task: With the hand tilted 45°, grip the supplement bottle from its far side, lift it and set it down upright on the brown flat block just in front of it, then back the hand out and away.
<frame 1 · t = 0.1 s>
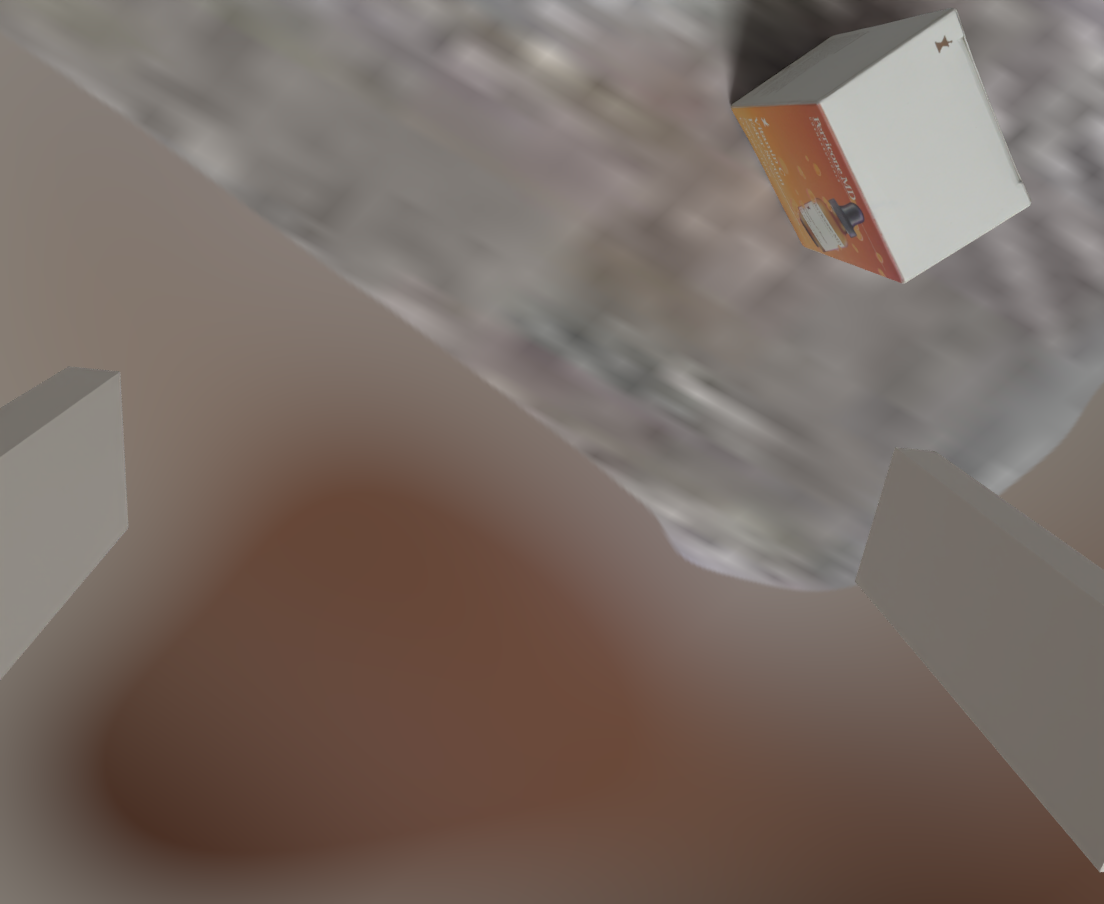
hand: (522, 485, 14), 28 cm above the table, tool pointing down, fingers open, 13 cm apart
small box: (815, 146, 40), on the table
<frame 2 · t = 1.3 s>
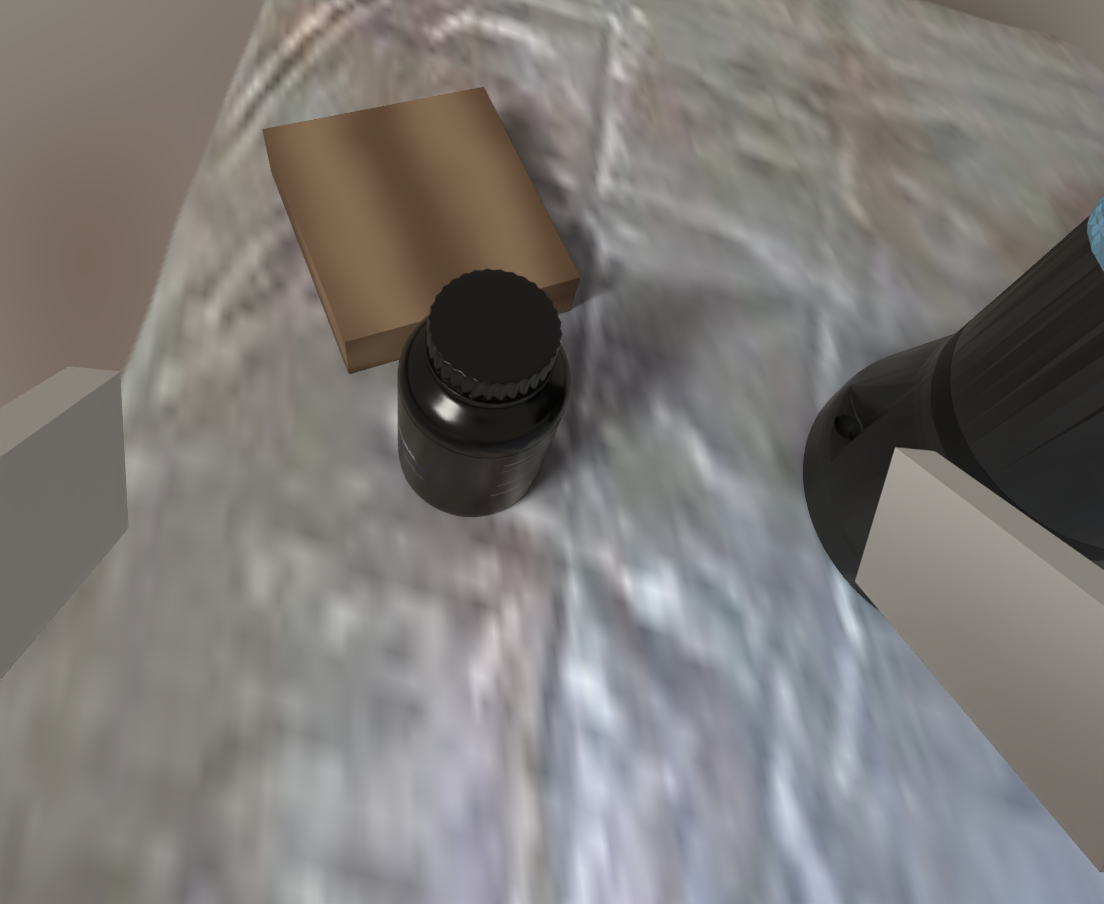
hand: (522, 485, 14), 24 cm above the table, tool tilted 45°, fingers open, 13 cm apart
brown flat block: (419, 240, 44), on the table
supplement bottle: (469, 456, 40), on the table
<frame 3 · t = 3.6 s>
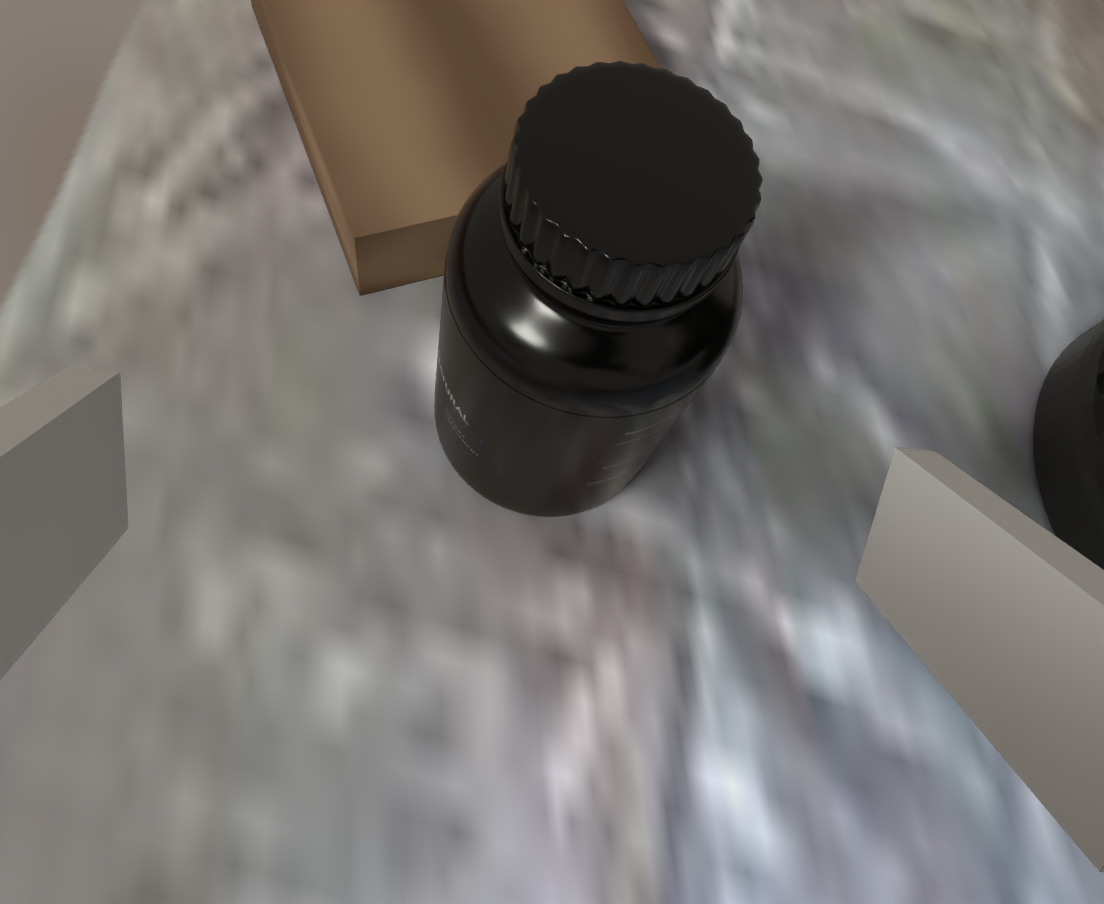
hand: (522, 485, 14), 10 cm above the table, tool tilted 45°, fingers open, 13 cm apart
brown flat block: (465, 110, 30), on the table
supplement bottle: (541, 424, 26), on the table
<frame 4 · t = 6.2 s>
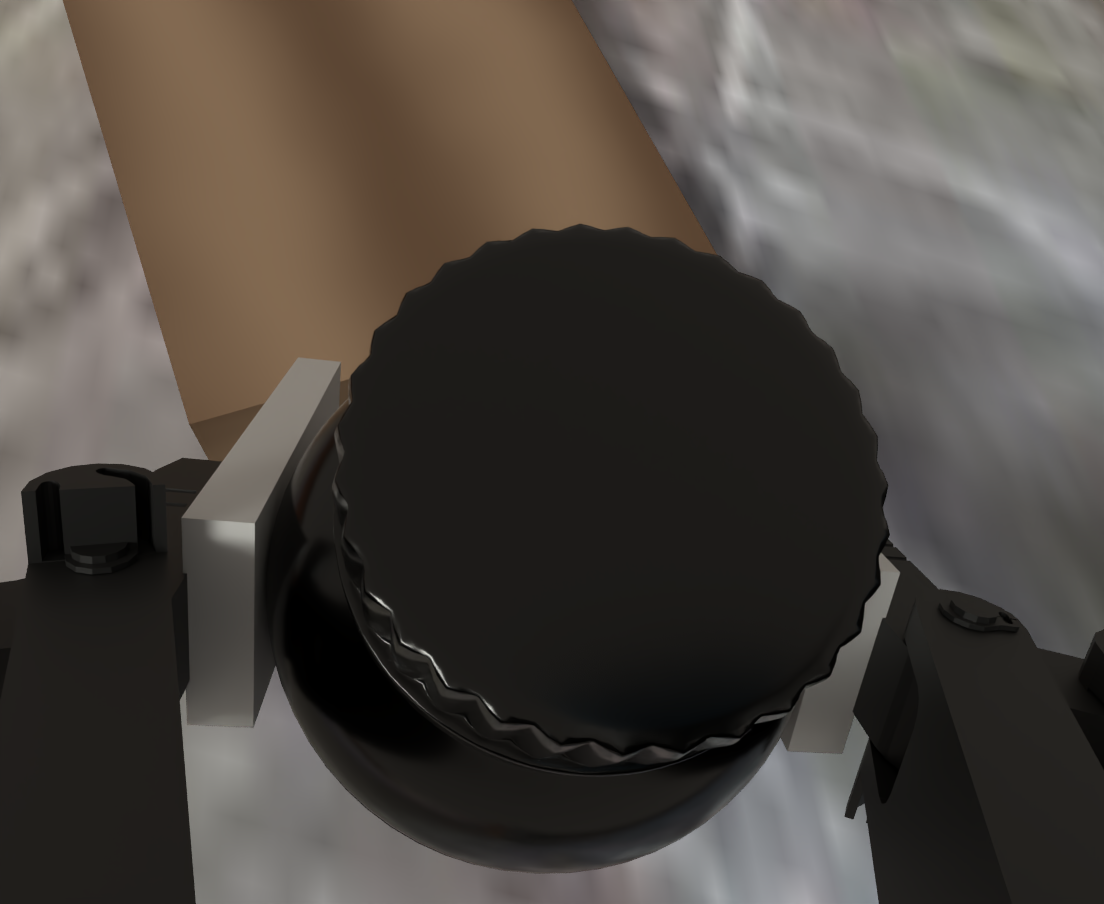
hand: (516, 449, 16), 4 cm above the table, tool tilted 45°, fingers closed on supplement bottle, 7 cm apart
brown flat block: (386, 197, 22), on the table
supplement bottle: (487, 671, 18), on the table, touching gripper
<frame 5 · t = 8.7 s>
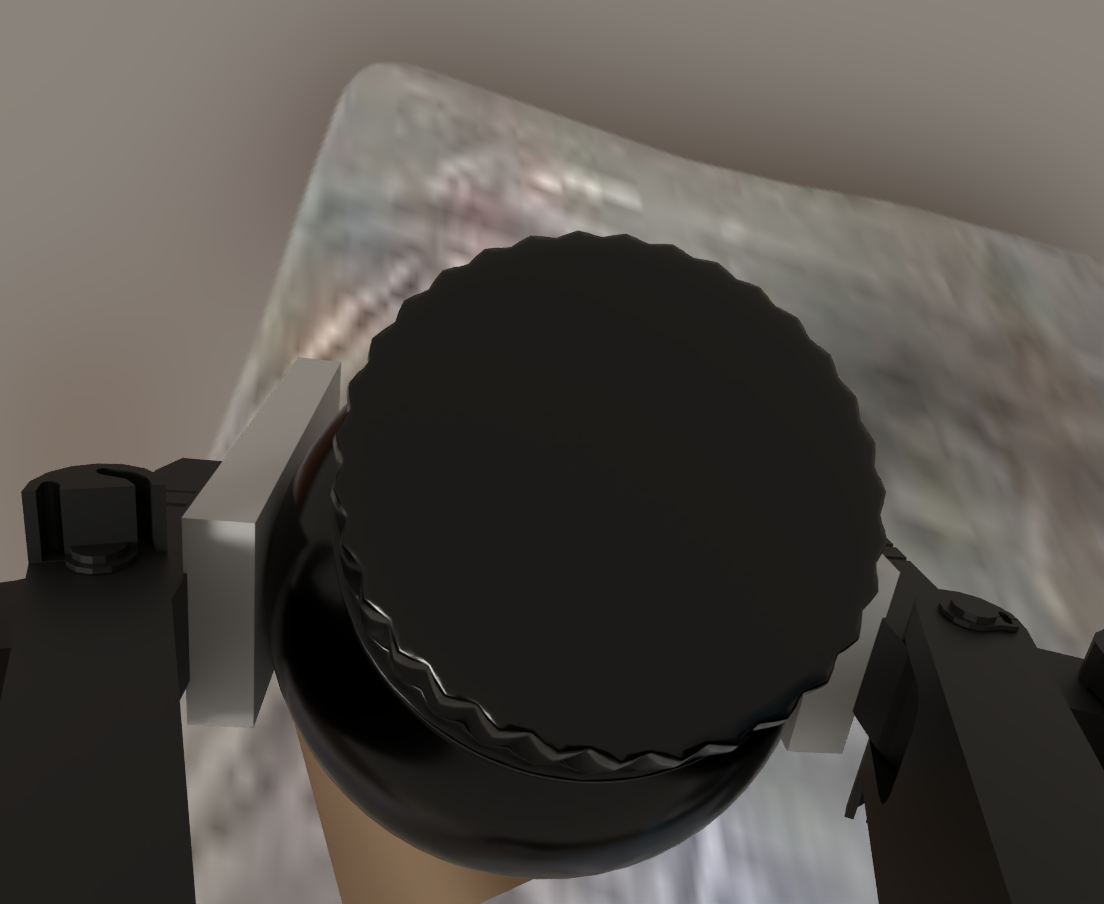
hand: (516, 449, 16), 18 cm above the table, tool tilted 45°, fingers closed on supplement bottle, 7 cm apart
brown flat block: (467, 692, 32), on the table
supplement bottle: (486, 674, 18), point 14 cm above the table, touching gripper
when the fingers open (8 cm above the table, at t = 11.1 s): supplement bottle drops 1 cm, resting on brown flat block.
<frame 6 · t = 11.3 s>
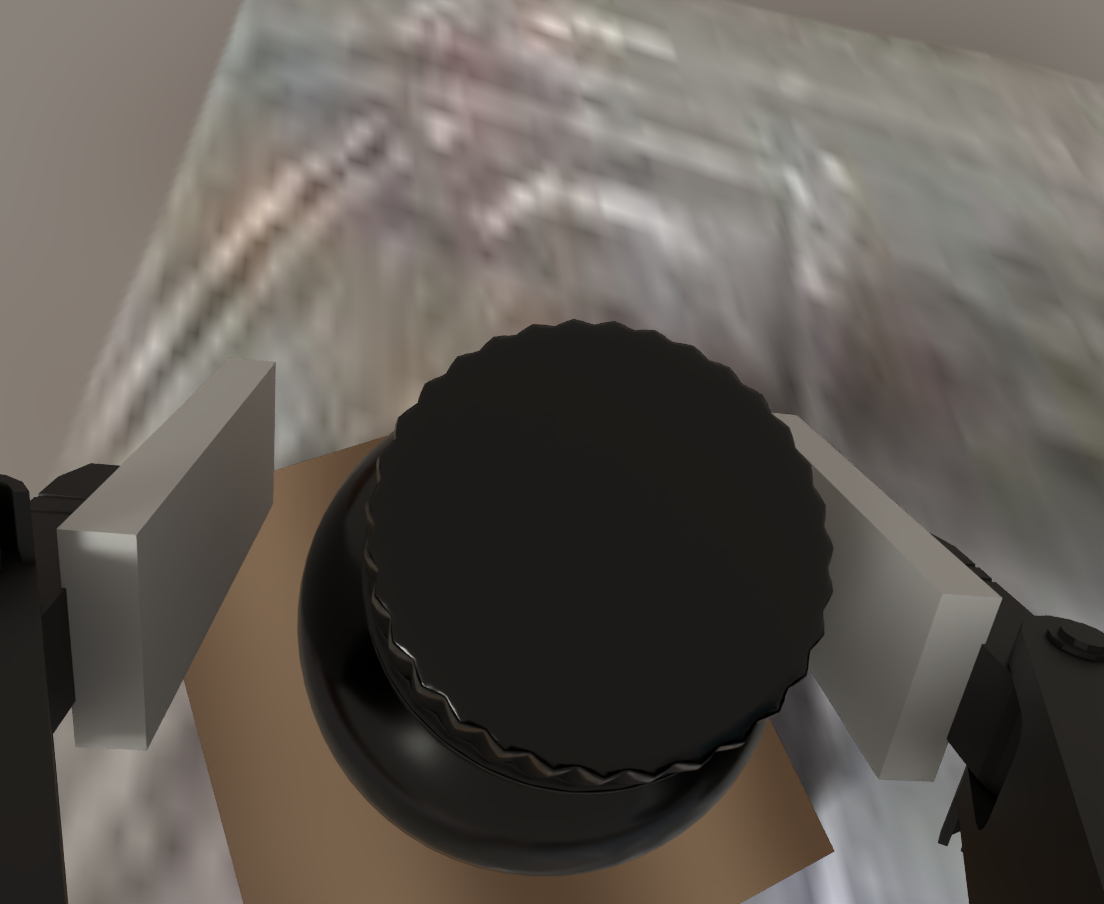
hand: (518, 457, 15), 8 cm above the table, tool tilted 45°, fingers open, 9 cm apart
brown flat block: (472, 696, 22), on the table
supplement bottle: (491, 687, 19), point 3 cm above the table, touching brown flat block
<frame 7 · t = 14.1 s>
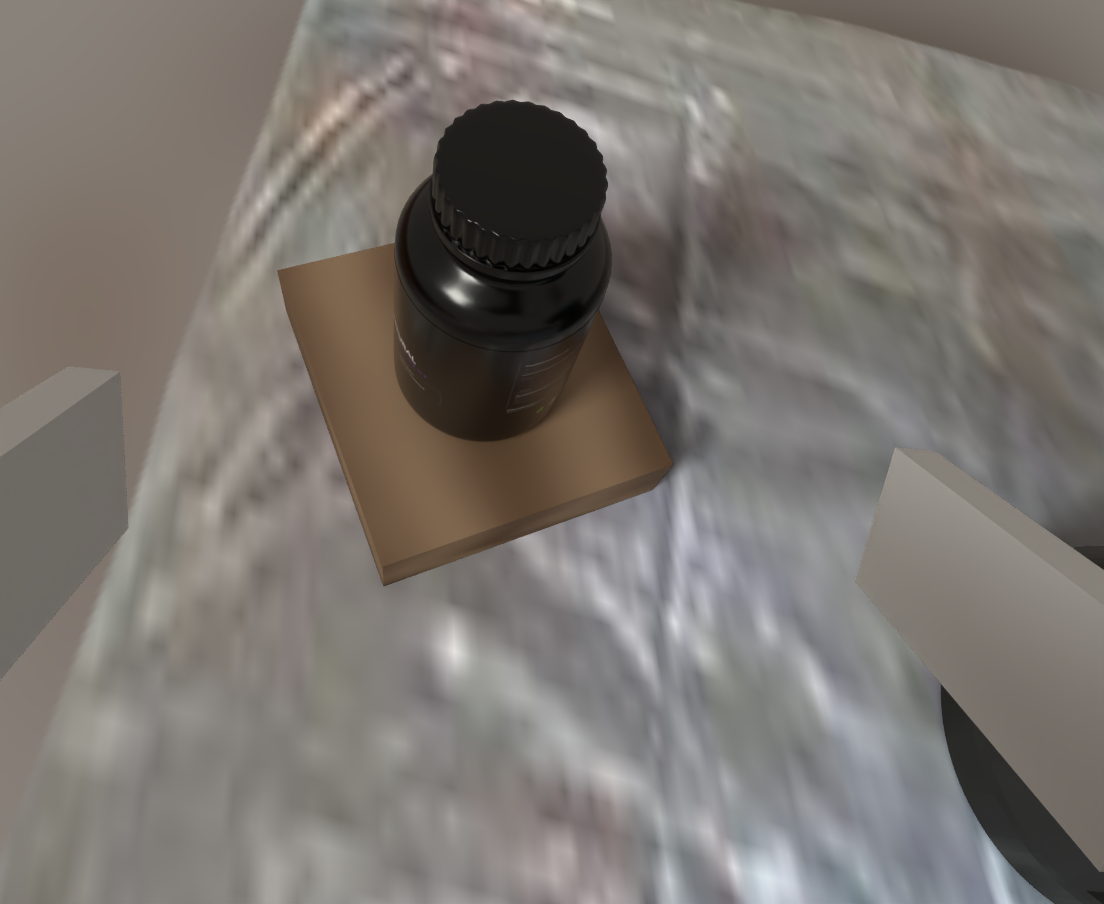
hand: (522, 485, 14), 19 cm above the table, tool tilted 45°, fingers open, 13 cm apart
brown flat block: (468, 399, 36), on the table
supplement bottle: (479, 372, 33), point 3 cm above the table, touching brown flat block
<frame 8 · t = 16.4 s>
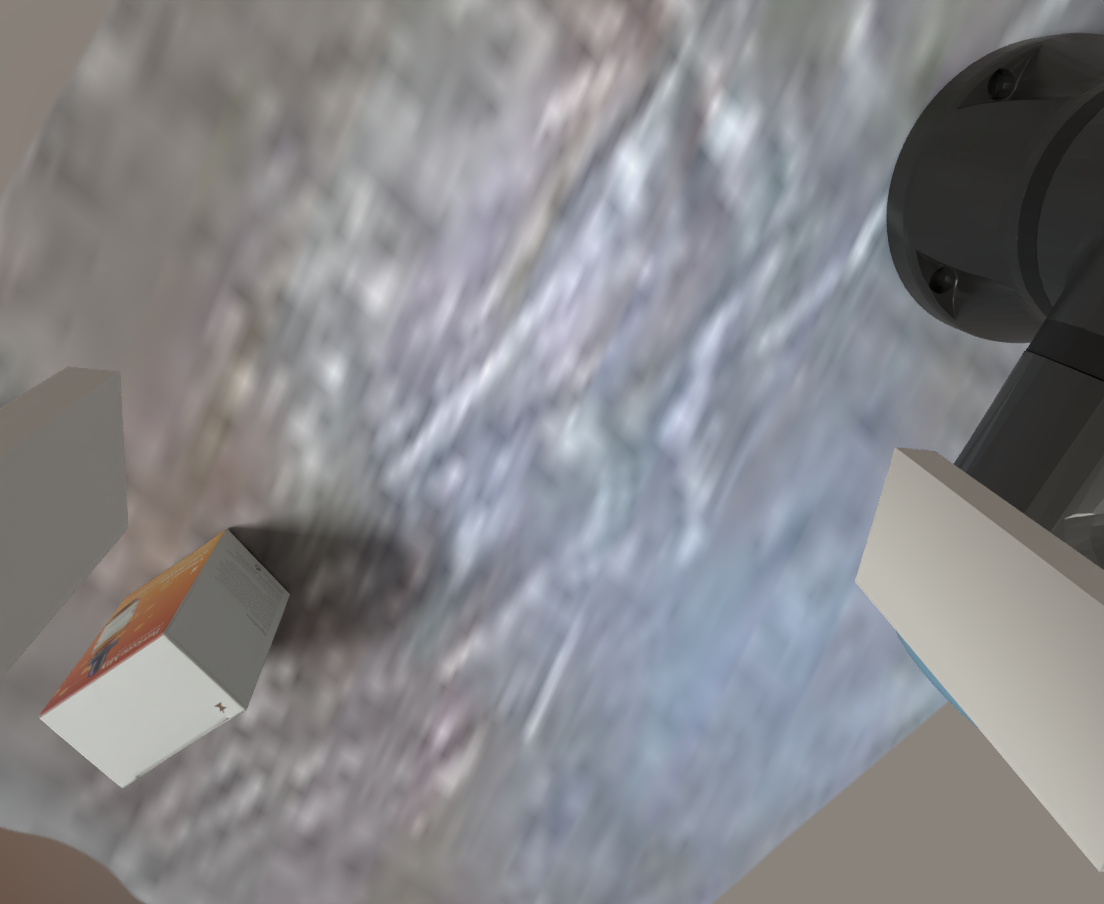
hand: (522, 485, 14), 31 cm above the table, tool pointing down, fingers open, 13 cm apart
small box: (209, 594, 49), on the table
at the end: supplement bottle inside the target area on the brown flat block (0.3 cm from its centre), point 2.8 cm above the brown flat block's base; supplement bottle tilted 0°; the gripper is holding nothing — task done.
